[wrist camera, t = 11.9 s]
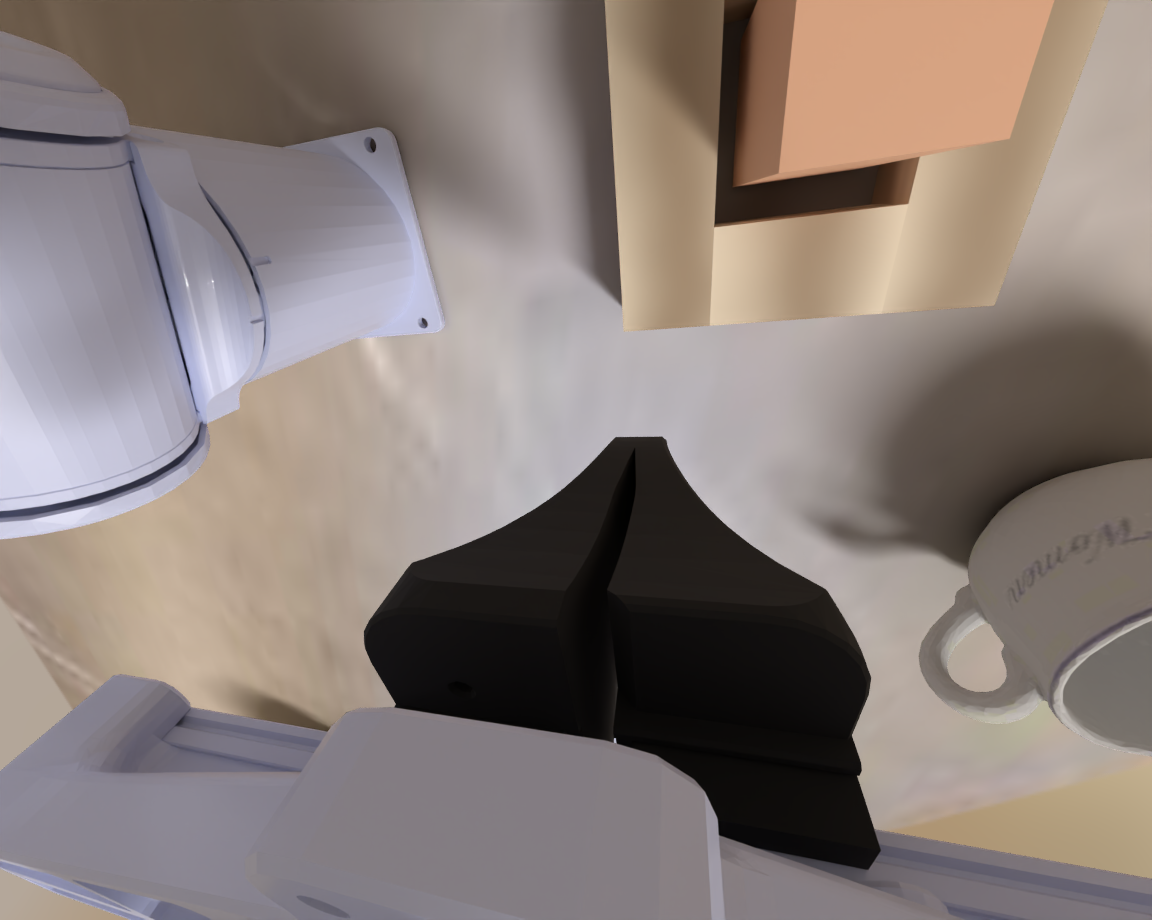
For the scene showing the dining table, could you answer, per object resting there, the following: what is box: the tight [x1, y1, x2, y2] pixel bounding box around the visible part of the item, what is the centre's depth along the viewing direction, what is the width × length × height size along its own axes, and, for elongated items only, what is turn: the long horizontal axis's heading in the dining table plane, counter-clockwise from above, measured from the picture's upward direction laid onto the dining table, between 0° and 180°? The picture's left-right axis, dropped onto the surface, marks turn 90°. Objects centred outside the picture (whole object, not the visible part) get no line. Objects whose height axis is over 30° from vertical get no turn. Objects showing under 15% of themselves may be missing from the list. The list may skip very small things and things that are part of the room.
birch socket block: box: [605, 0, 1108, 332], centre depth 13 cm, size 12×12×3 cm
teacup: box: [919, 458, 1152, 756], centre depth 17 cm, size 14×11×8 cm
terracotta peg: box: [732, 0, 1054, 188], centre depth 11 cm, size 4×4×8 cm
